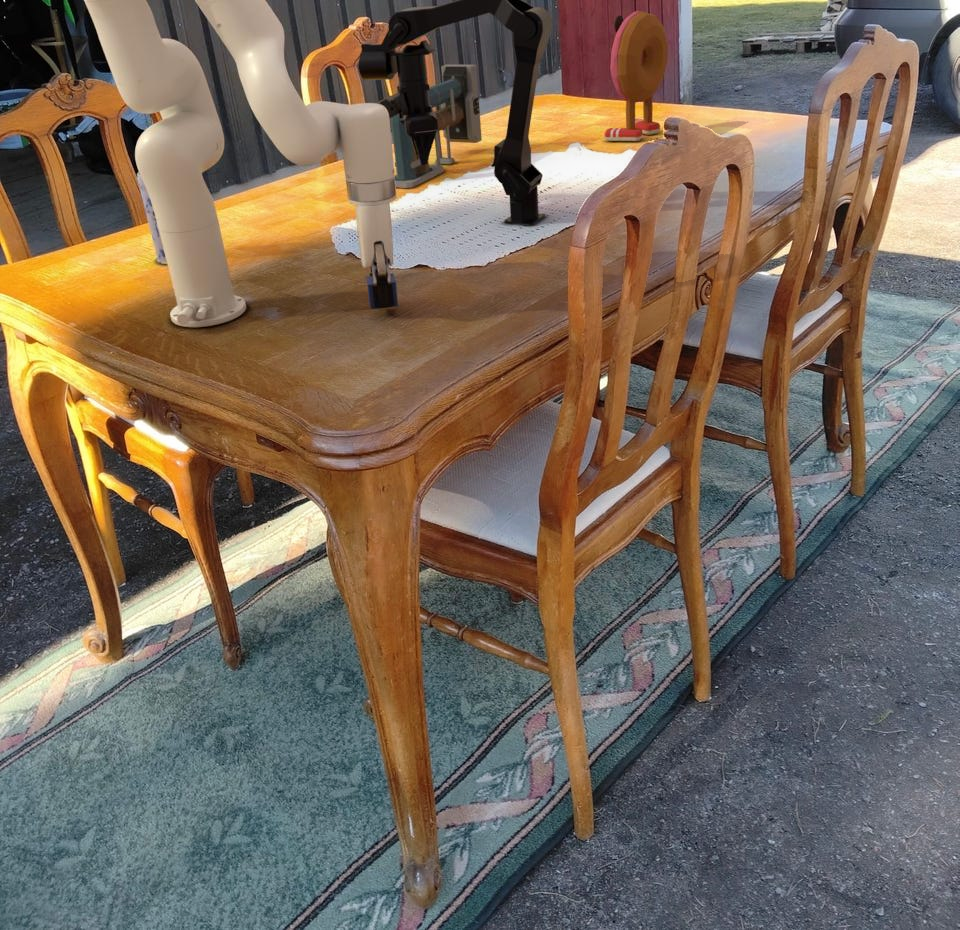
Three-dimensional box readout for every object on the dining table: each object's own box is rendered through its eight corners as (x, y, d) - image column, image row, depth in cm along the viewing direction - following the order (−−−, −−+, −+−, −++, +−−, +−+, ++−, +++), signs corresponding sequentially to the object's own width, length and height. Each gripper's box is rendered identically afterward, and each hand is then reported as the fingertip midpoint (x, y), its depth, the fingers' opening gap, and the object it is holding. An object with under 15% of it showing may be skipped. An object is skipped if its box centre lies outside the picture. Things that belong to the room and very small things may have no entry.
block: (395, 297, 160) (393, 273, 158) (398, 306, 156) (395, 282, 154) (368, 299, 160) (366, 275, 157) (370, 309, 156) (368, 284, 154)
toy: (639, 125, 264) (640, 5, 249) (672, 128, 258) (675, 5, 243) (595, 143, 250) (594, 16, 235) (629, 146, 245) (630, 16, 229)
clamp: (411, 188, 225) (400, 91, 214) (380, 186, 229) (368, 91, 218) (482, 152, 251) (476, 64, 240) (453, 150, 255) (446, 64, 244)
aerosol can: (156, 266, 189) (130, 162, 179) (157, 254, 195) (131, 153, 185) (197, 260, 190) (173, 156, 180) (196, 248, 197) (173, 148, 187)
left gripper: (344, 178, 155) (357, 286, 165) (349, 206, 141) (363, 323, 150) (390, 173, 156) (401, 281, 166) (401, 202, 142) (411, 318, 151)
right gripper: (369, 76, 198) (378, 154, 206) (375, 91, 182) (386, 174, 190) (422, 70, 199) (430, 148, 207) (434, 84, 183) (442, 168, 191)
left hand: (383, 300), depth 158 cm, fingers closed on block, 4 cm apart
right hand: (421, 159), depth 199 cm, fingers open, 9 cm apart
